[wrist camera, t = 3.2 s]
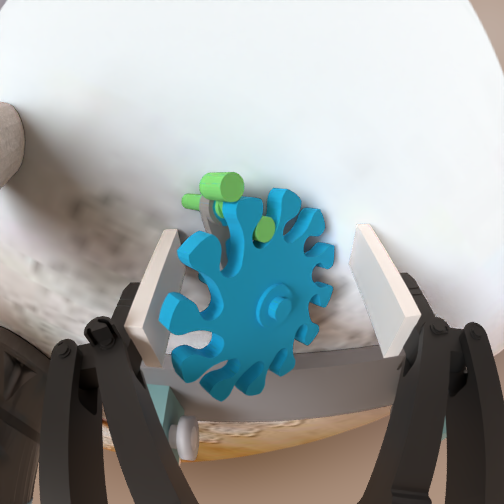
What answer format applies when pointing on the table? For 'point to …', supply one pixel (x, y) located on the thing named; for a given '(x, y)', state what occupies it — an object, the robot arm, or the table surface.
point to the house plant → (10, 142)
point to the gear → (247, 286)
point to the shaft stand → (276, 393)
